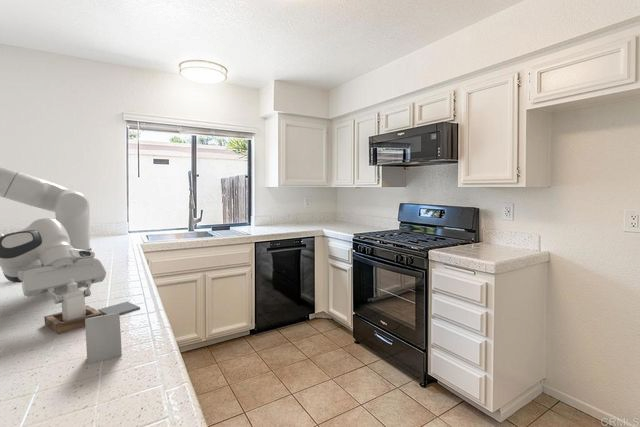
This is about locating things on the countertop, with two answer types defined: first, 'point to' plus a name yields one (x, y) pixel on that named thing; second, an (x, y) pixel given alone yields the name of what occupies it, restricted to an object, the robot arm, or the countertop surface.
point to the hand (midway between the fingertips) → (74, 298)
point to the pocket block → (60, 327)
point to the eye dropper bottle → (73, 302)
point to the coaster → (119, 308)
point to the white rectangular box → (103, 337)
